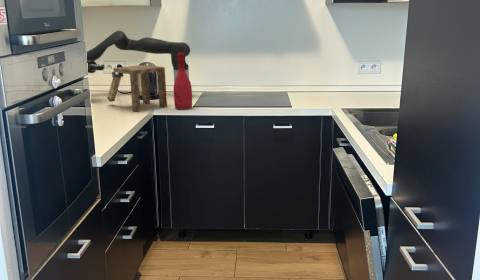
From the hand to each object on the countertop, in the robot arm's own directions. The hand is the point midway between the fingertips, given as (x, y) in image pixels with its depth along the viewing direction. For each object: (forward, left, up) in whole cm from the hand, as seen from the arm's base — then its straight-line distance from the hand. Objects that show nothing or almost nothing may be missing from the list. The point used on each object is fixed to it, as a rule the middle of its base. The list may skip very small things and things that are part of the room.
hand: (102, 68), depth 276 cm
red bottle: (-22, +47, -21) cm, 56 cm away
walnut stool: (-8, +27, -20) cm, 35 cm away
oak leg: (0, +8, -17) cm, 19 cm away
